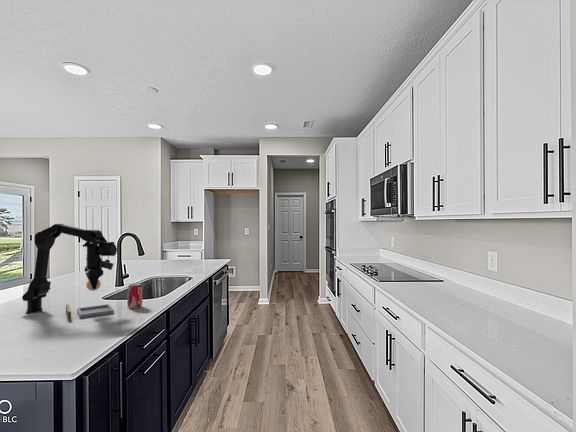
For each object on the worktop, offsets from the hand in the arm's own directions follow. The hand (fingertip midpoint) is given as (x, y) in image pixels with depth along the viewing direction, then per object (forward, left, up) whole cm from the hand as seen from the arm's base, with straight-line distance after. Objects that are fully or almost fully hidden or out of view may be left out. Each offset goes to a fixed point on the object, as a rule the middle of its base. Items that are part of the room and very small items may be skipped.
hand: (93, 288), depth 164 cm
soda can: (0, +19, -12) cm, 23 cm away
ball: (0, 0, +2) cm, 2 cm away
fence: (0, -10, -12) cm, 16 cm away
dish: (0, +1, -12) cm, 12 cm away
